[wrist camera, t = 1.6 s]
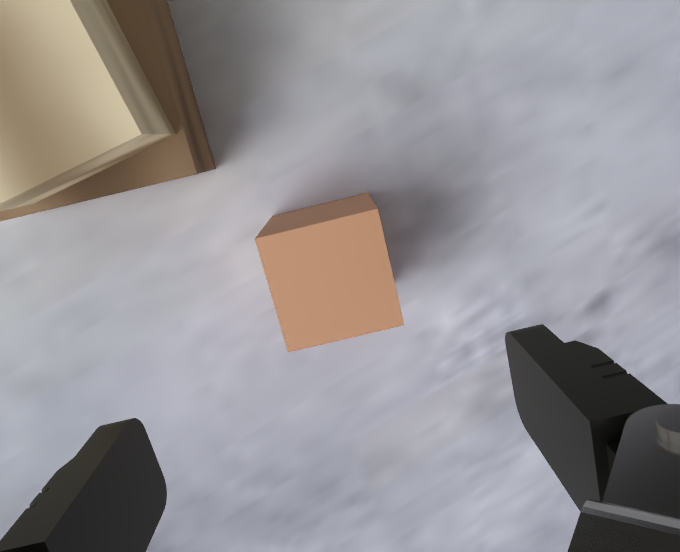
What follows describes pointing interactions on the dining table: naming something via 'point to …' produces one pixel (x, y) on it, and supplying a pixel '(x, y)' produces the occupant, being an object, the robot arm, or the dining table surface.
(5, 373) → the dining table surface
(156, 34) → the tower base
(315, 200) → the dining table surface
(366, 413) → the dining table surface
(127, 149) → the tower middle
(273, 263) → the peach cube on top
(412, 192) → the dining table surface
